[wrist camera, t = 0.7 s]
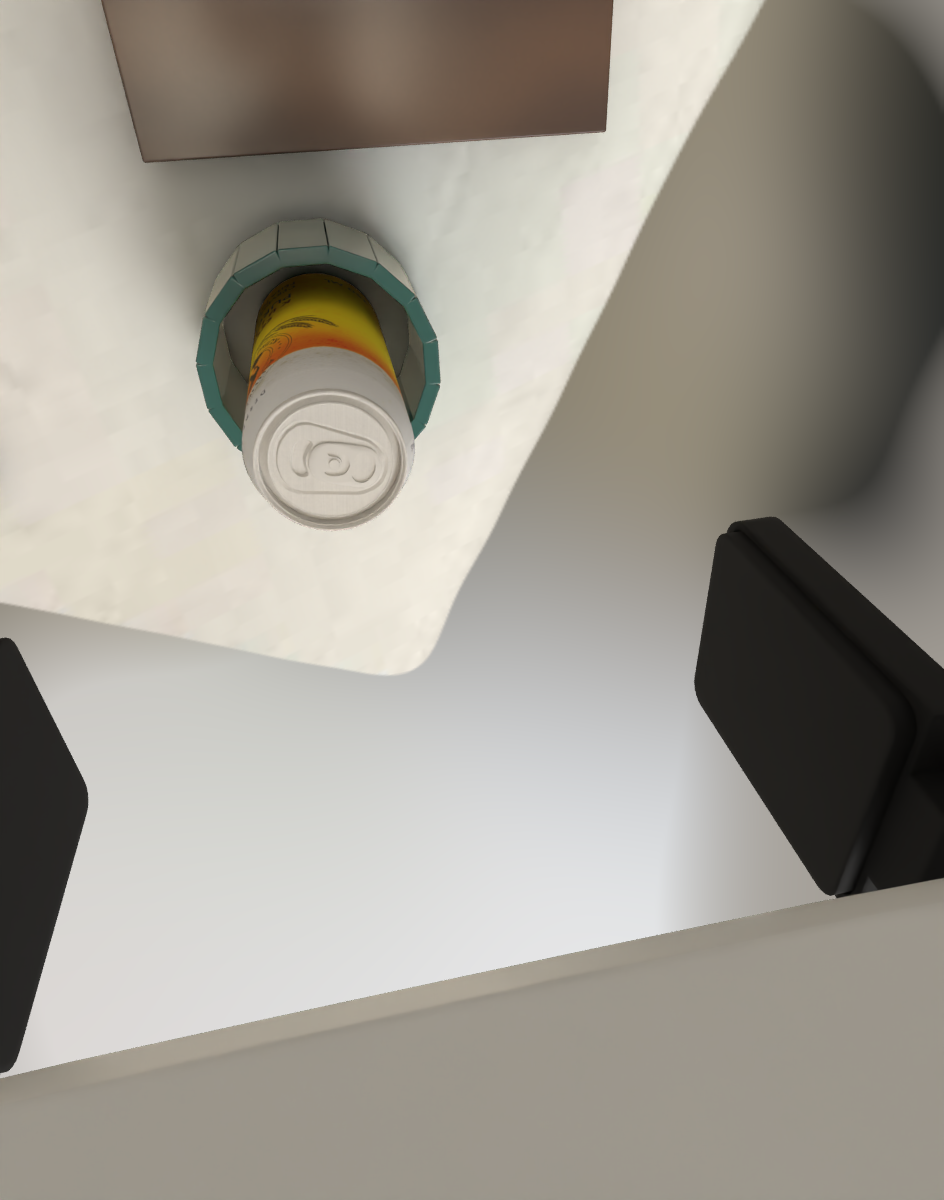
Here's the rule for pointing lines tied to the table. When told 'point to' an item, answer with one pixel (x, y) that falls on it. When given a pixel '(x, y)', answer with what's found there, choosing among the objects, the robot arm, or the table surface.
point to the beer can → (324, 407)
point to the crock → (304, 248)
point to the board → (356, 72)
